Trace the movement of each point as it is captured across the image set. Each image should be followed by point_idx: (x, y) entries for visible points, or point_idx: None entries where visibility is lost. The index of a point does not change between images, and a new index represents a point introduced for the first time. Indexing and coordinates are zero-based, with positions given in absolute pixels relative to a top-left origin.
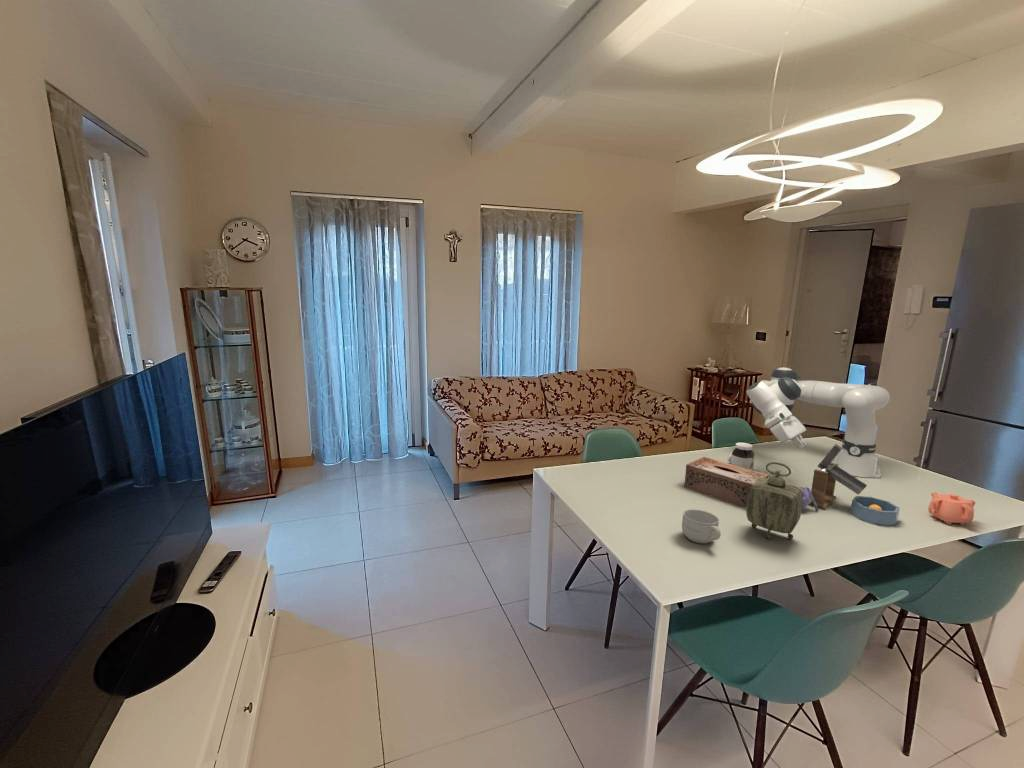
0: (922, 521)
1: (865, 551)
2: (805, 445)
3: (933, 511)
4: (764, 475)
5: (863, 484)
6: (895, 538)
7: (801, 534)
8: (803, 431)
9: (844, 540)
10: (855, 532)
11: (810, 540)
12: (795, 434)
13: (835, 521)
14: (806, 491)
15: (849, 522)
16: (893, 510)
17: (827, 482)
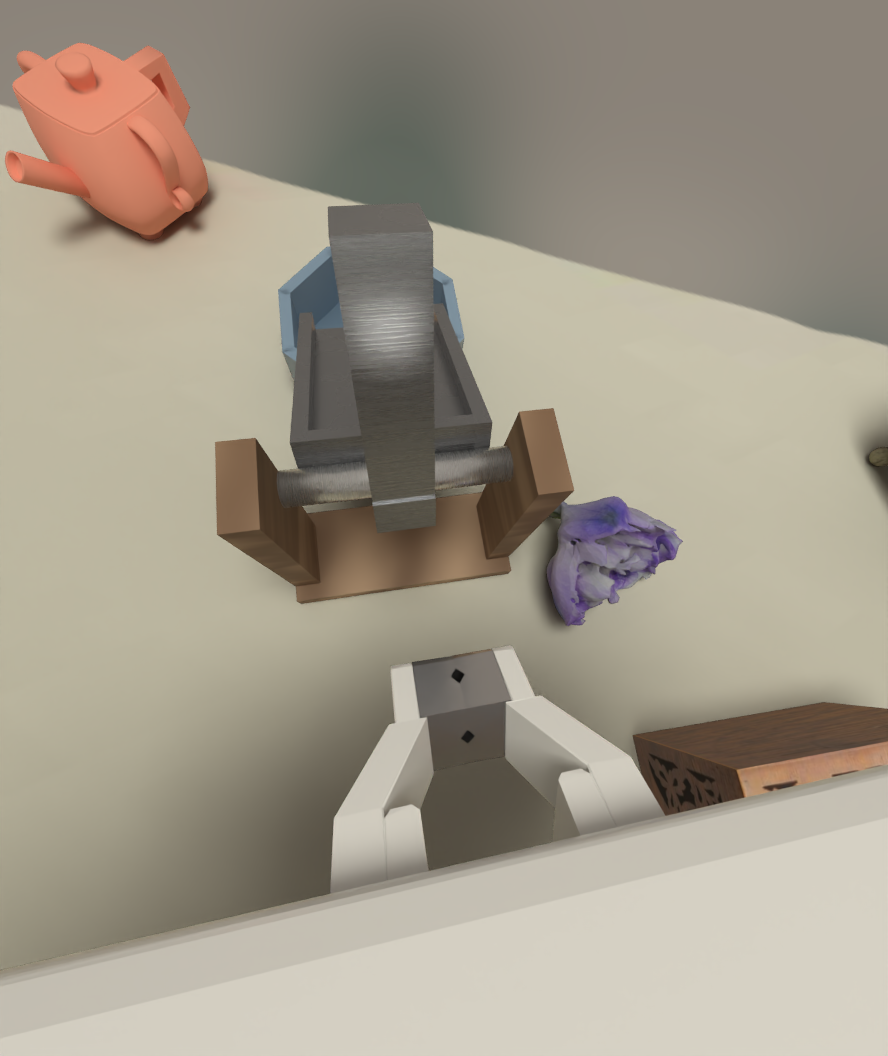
0: (250, 250)
1: (699, 298)
2: (421, 661)
3: (188, 195)
4: (778, 782)
5: (312, 325)
6: (509, 270)
7: (799, 454)
8: (40, 969)
9: (691, 356)
10: (591, 355)
11: (807, 418)
12: (748, 840)
13: (565, 427)
14: (637, 516)
15: (522, 394)
16: (326, 282)
17: (301, 537)
